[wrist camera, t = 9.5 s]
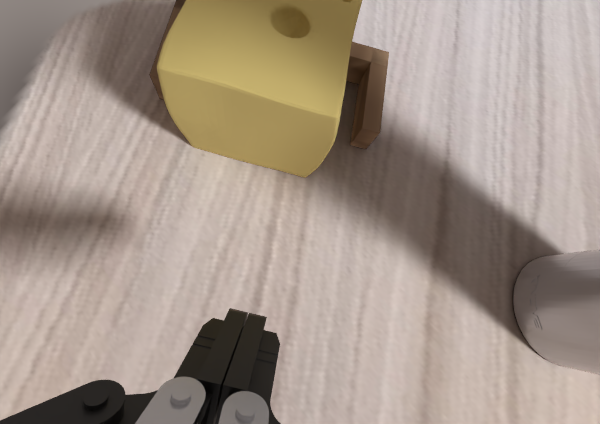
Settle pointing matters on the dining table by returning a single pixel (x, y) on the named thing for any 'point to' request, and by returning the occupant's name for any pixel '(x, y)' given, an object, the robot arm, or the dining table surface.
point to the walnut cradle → (361, 69)
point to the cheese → (259, 78)
